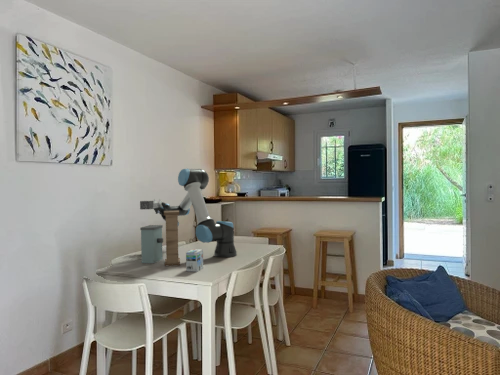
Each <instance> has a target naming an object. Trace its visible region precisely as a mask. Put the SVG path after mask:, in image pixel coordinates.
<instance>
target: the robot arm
mask: <svg viewBox="0 0 500 375" xmlns="http://www.w3.org/2000/svg"><path fill="white" fill-rule="evenodd" d="M209 180H210V177H209V174H208V172H207V171H205V169H202V168H183V169H181V170H180V171H179V172H178V176H177V182H178V184H179V186H181V187H183V188H184V191H185V192H187V193H186V195H185V196H184V197H183V199H182V200H181V202H180V203H179V205H176V206H175V205H173V206H172V205H170V203H165V202H164V203H162V202H163V201H162V199H160V198H159V199H158V201H157V200H156V199H155V198H154V199H153V200H152V201H153V203H159V204H160V206H161V207H159V208H153V209H152V210H153V211H154V212H155V214H157V215H158V214H159V215H160V216H161V218H162V219H163V221H164V222H165V223H166V216H164V211H170V210H179V215H178V216H181V217H182V216H184V217H185V216H188V215H189V214H190V212H191V209H190V208H191V207H192V209H193V212H194V214H195V217H196V220H197V224H196V227H195V236H196V239H197V240H198V241H199V242H201V243H208V244H209V243H212V242H213V243H214V242H216V245H215V248H214V252H213V253H214V254H213V255H214V257H216V258H217V257H218V258H231V257H236V256H237V252H238V251H237V249H236V246H235V239H234V238H235V236H234V235H235V234H234V232H235V229H234V223H233V222H232V221H221V220H217V221H216V222H215V219H214V218H212V217H211V216H210V212H209V209H208V207H207V204H206V202H205V198H204V196H203V193H202V191H203V190H205V189H206V188H207V186H208V184H209ZM179 225H180V222H179V221H178V227H179Z"/></svg>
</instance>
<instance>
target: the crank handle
mask: <svg viewBox="0 0 500 375" xmlns="http://www.w3.org/2000/svg"><path fill="white" fill-rule="evenodd" d="M153 201H154V200H140V202H139V207H140V208H139V209H140V210H154V209H153V208H159V207H161V206H160V204H159V203H158V202H157V203H153ZM162 203H165V202H164V201H162Z"/></svg>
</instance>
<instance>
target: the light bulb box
mask: <svg viewBox="0 0 500 375" xmlns="http://www.w3.org/2000/svg"><path fill="white" fill-rule="evenodd" d="M185 261H186V262H185V263H186V264H185V267H186V268H185V269H186V272H190V273H191V272H195V273H196V272H198V273H199V271H200V270H203V269H204V249H199V248H197V249H196V248H194V249H193V248H192V249H190V250H188V251H186V252H185Z"/></svg>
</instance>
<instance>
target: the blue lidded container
mask: <svg viewBox="0 0 500 375" xmlns="http://www.w3.org/2000/svg"><path fill="white" fill-rule="evenodd" d="M163 226H164V225H163V224H162V225H161V224H155V225H154V224H150V225H145V226H142V227H140V229H139V230H140V241H141V243H140V246H141V248H140V249H141V250H140V251H141V252H140V253H141V254H140V255H141V263H142V264H155V263H157V262H159V261H161V260H163V243H164V238H163Z"/></svg>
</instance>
